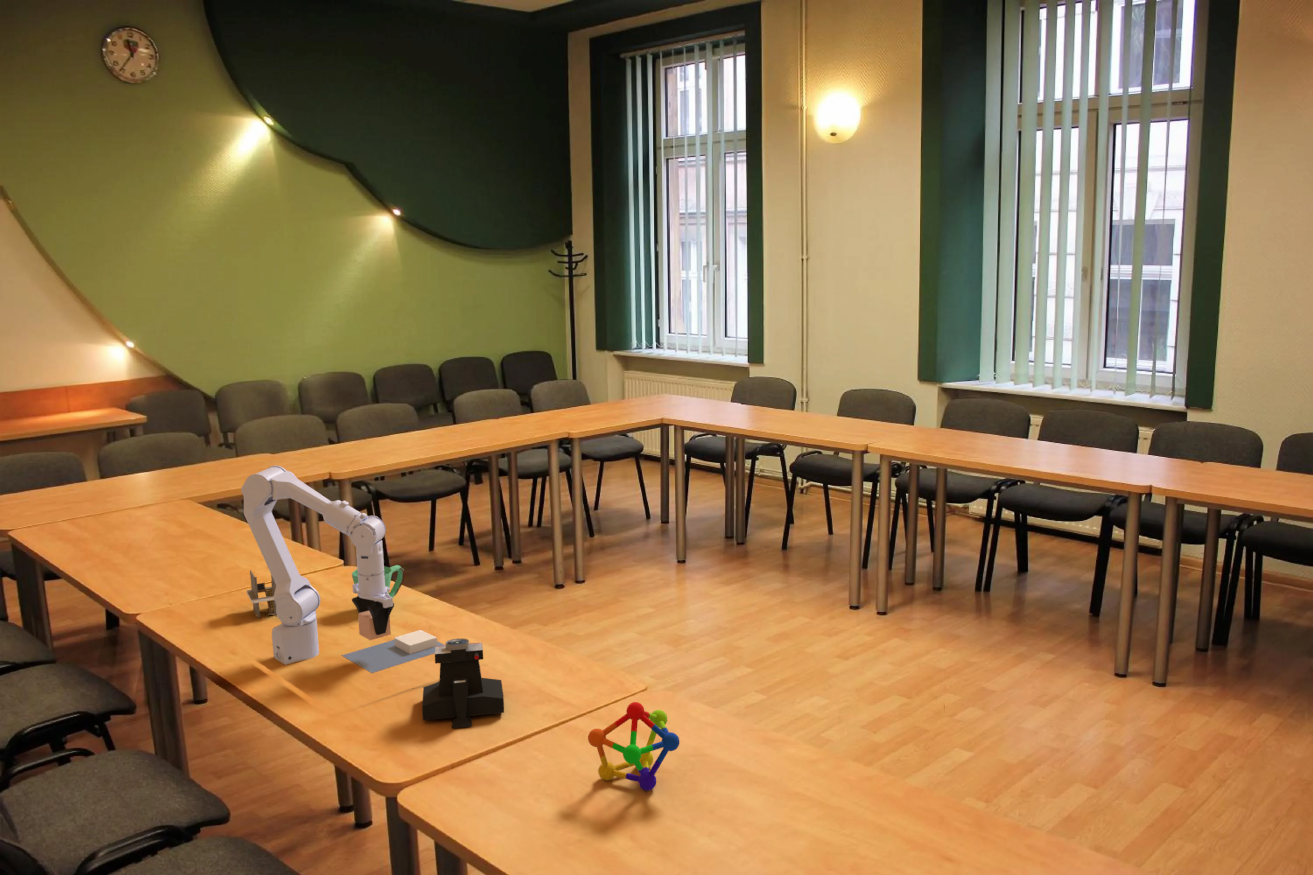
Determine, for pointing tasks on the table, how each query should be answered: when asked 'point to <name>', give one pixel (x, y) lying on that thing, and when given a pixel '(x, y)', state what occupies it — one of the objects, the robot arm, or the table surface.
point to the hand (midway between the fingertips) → (374, 630)
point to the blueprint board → (395, 651)
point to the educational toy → (632, 752)
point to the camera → (461, 686)
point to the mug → (388, 578)
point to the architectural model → (269, 597)
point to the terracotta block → (370, 626)
